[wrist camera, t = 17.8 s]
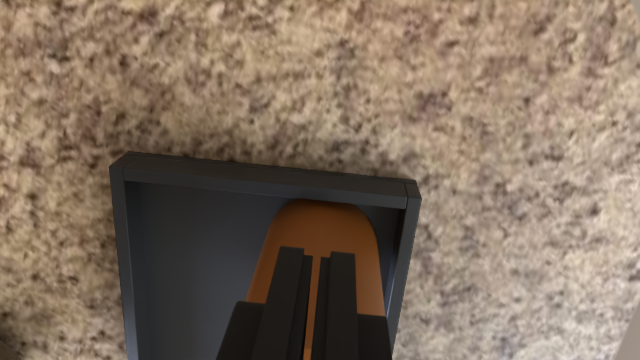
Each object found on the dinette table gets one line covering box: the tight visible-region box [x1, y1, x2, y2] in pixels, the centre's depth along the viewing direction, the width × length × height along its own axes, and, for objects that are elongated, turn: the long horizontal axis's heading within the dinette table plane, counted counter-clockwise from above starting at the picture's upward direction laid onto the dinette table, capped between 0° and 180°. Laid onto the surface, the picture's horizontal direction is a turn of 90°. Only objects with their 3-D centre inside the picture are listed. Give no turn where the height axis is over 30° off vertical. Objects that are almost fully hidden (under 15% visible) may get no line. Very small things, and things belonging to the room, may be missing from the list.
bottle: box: [245, 198, 385, 360], centre depth 22 cm, size 7×7×18 cm
